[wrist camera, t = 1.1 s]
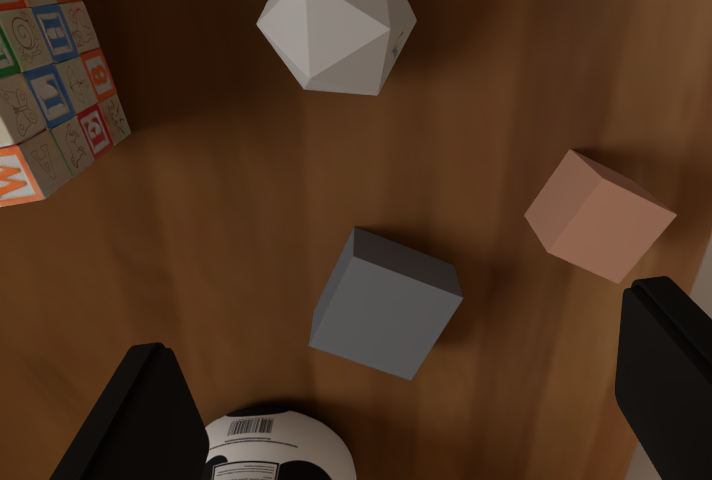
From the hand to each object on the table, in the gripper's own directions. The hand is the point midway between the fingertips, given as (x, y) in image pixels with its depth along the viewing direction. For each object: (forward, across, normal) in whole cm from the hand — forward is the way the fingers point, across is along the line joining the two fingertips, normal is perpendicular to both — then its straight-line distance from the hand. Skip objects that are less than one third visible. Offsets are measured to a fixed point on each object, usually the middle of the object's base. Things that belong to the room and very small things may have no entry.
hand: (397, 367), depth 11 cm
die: (+29, +1, -5) cm, 29 cm away
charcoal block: (+29, +2, +17) cm, 34 cm away
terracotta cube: (+29, -15, +11) cm, 34 cm away
